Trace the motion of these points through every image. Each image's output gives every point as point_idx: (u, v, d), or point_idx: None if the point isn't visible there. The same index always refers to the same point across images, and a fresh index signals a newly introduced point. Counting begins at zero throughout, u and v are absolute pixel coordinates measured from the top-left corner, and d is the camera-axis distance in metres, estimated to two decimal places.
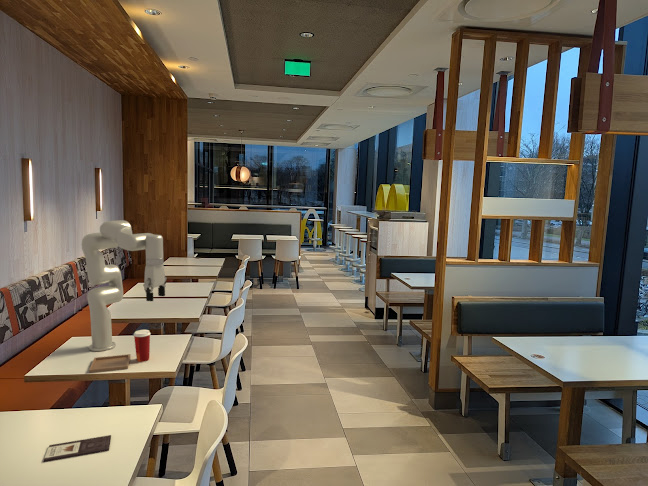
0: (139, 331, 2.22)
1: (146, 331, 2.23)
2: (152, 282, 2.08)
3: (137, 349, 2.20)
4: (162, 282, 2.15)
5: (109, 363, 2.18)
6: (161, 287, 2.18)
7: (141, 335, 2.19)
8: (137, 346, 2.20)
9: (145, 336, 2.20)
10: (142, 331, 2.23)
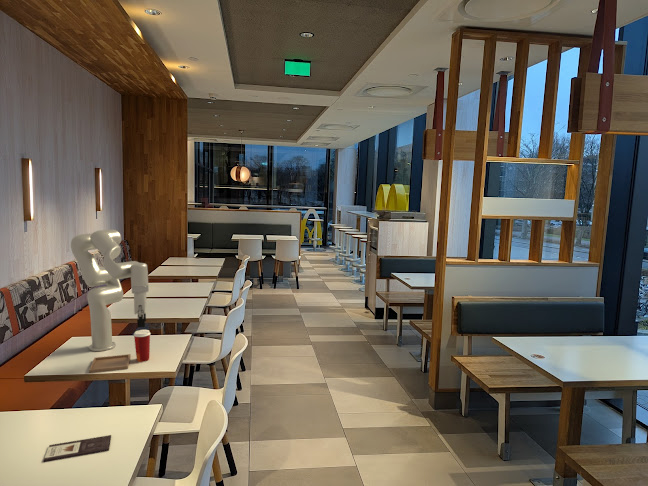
0: (139, 331, 2.22)
1: (146, 331, 2.23)
2: (144, 308, 2.17)
3: (137, 349, 2.20)
4: None
5: (109, 363, 2.18)
6: (142, 313, 2.26)
7: (141, 335, 2.19)
8: (137, 346, 2.20)
9: (145, 336, 2.20)
10: (142, 331, 2.23)
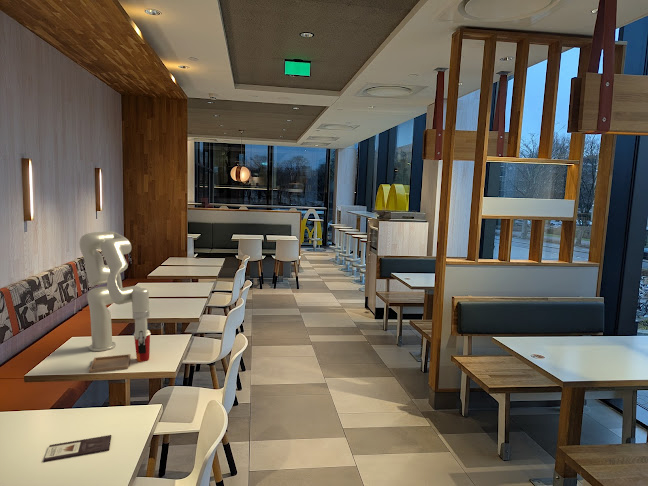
0: None
1: None
2: (144, 335, 2.18)
3: (137, 349, 2.20)
4: None
5: (109, 363, 2.18)
6: None
7: None
8: (137, 346, 2.20)
9: None
10: None
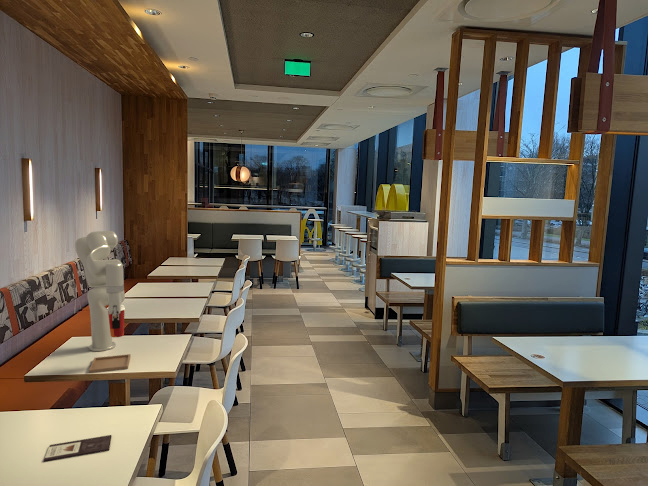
0: None
1: (121, 306, 2.17)
2: (119, 310, 2.12)
3: (111, 324, 2.14)
4: None
5: (109, 363, 2.18)
6: None
7: None
8: (111, 321, 2.14)
9: None
10: None
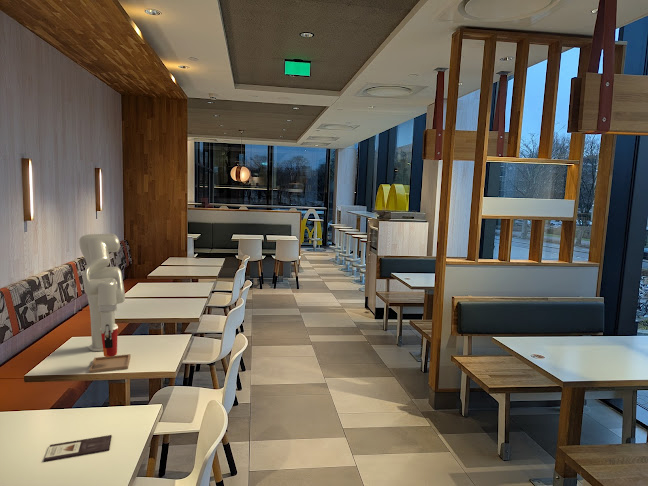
0: None
1: None
2: (111, 329, 2.11)
3: (104, 343, 2.13)
4: None
5: (109, 363, 2.18)
6: None
7: None
8: (104, 340, 2.13)
9: None
10: None
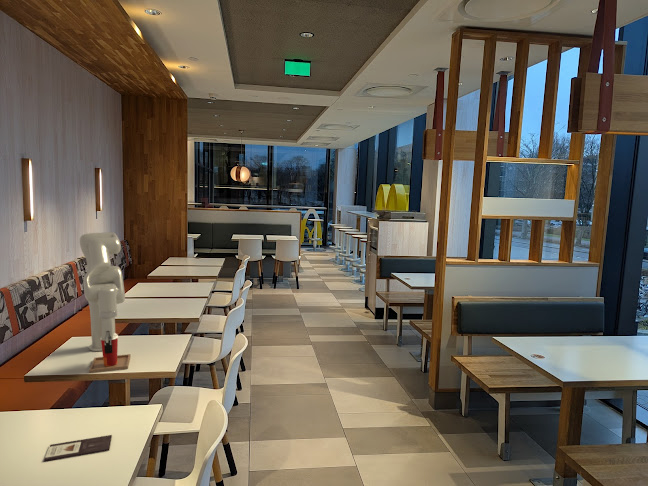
0: None
1: (114, 334, 2.16)
2: (111, 334, 2.12)
3: (104, 353, 2.13)
4: None
5: None
6: None
7: None
8: (104, 350, 2.13)
9: (112, 339, 2.13)
10: None
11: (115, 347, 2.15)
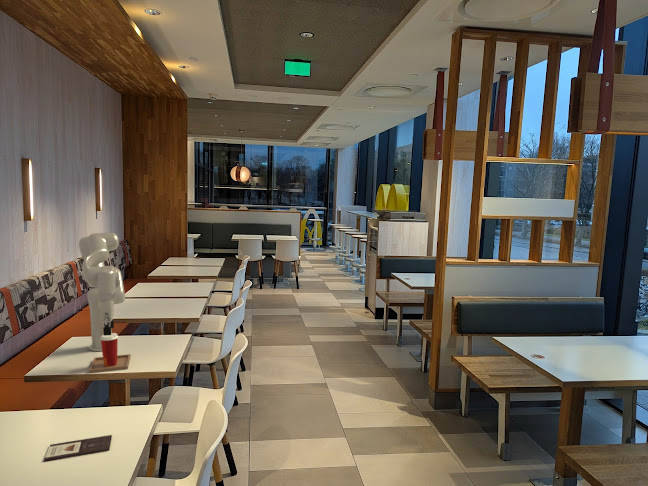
0: (106, 335, 2.15)
1: (113, 334, 2.16)
2: (110, 316, 2.11)
3: (104, 353, 2.13)
4: None
5: None
6: None
7: (108, 339, 2.12)
8: (104, 350, 2.13)
9: (112, 340, 2.13)
10: None
11: (115, 347, 2.15)
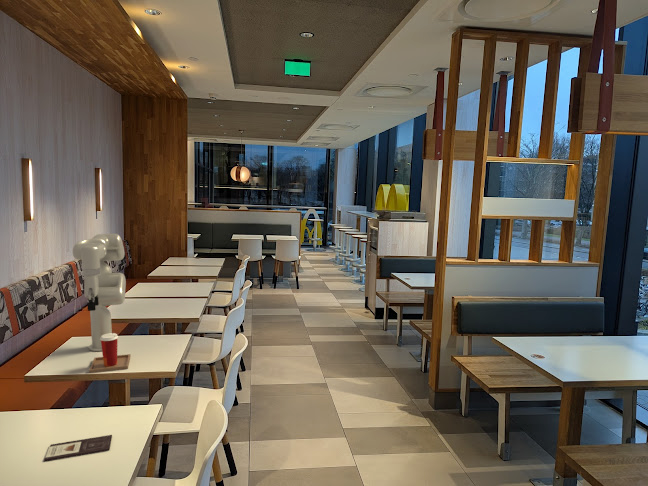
0: (106, 335, 2.15)
1: (113, 335, 2.16)
2: (94, 292, 2.13)
3: (104, 353, 2.13)
4: (98, 291, 2.20)
5: None
6: (94, 297, 2.22)
7: (108, 339, 2.12)
8: (104, 350, 2.13)
9: (112, 340, 2.13)
10: (109, 335, 2.16)
11: (115, 347, 2.15)
